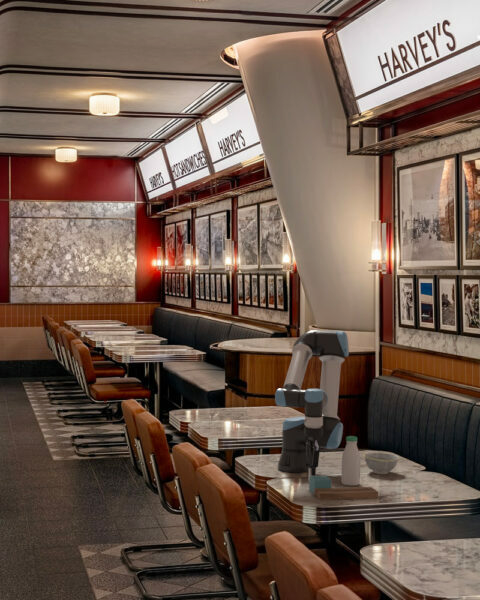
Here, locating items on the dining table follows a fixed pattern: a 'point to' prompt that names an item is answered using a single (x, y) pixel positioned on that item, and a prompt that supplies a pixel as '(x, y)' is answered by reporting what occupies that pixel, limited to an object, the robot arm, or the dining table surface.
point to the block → (319, 482)
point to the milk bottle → (351, 463)
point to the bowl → (381, 462)
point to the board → (345, 493)
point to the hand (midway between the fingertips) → (312, 482)
